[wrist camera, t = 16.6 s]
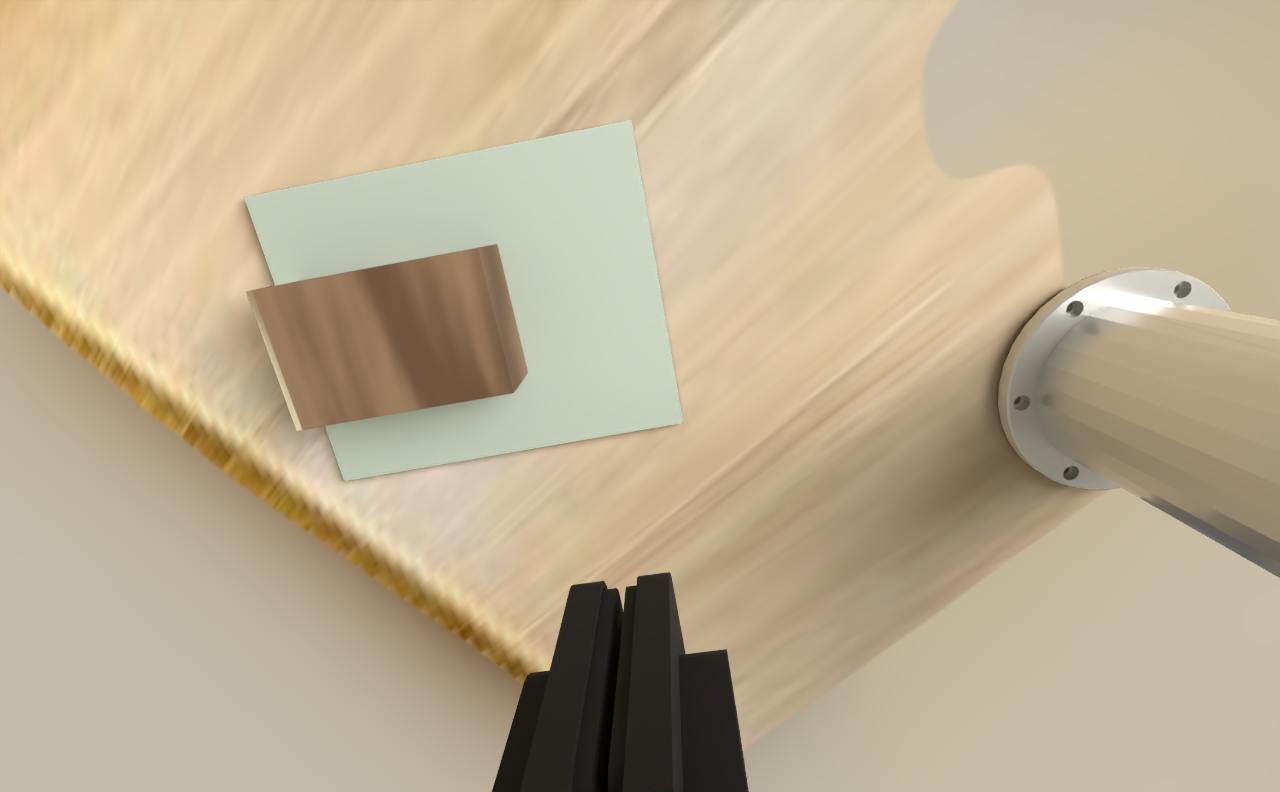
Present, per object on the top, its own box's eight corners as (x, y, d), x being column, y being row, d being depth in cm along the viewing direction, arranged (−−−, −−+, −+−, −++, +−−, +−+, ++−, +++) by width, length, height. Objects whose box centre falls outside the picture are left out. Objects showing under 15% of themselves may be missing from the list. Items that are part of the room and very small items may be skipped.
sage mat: (631, 121, 30) (631, 120, 30) (682, 420, 35) (683, 422, 34) (248, 197, 31) (243, 197, 31) (347, 478, 36) (344, 481, 35)
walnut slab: (477, 248, 28) (245, 291, 28) (513, 393, 30) (296, 430, 30) (497, 243, 32) (292, 282, 32) (528, 372, 34) (335, 406, 34)
